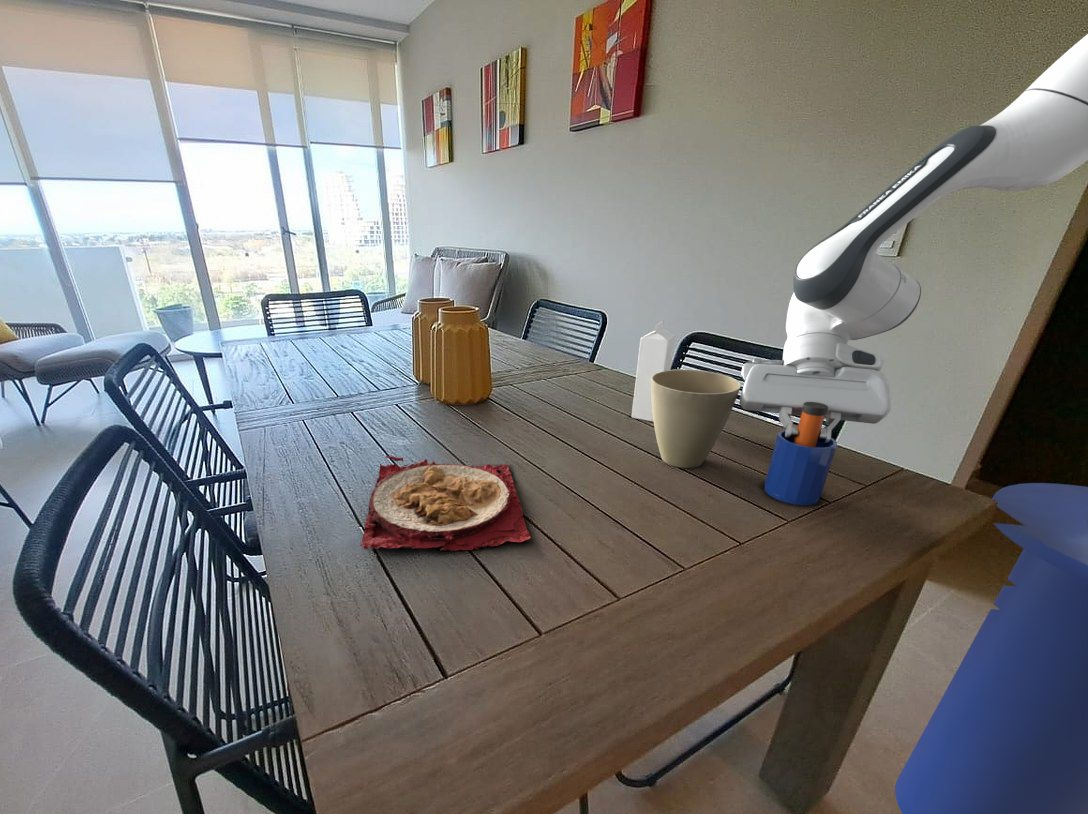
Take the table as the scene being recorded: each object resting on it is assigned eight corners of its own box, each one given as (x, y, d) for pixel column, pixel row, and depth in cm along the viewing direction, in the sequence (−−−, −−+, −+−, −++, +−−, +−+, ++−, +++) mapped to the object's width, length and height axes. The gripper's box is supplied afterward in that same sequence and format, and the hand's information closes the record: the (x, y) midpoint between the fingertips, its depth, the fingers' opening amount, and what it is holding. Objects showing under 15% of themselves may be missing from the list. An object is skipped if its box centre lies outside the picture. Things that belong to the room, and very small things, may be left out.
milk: (663, 415, 115) (678, 321, 106) (656, 422, 110) (671, 325, 101) (638, 410, 118) (650, 319, 109) (630, 417, 113) (642, 323, 104)
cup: (808, 483, 83) (824, 430, 79) (827, 507, 76) (846, 450, 71) (757, 480, 84) (771, 427, 80) (772, 503, 77) (788, 446, 73)
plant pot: (634, 443, 99) (643, 368, 93) (707, 445, 98) (722, 369, 91) (650, 477, 86) (662, 392, 79) (735, 479, 84) (755, 393, 78)
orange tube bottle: (802, 470, 80) (823, 402, 75) (810, 479, 77) (832, 409, 72) (781, 469, 80) (800, 401, 75) (788, 477, 77) (808, 407, 72)
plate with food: (360, 559, 66) (357, 538, 64) (381, 470, 89) (379, 454, 87) (531, 549, 68) (532, 529, 66) (508, 465, 91) (508, 449, 89)
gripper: (747, 348, 80) (738, 421, 76) (896, 358, 73) (895, 440, 69) (740, 367, 86) (731, 437, 82) (878, 378, 78) (876, 456, 74)
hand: (807, 438), depth 75 cm, fingers closed on orange tube bottle, 3 cm apart
